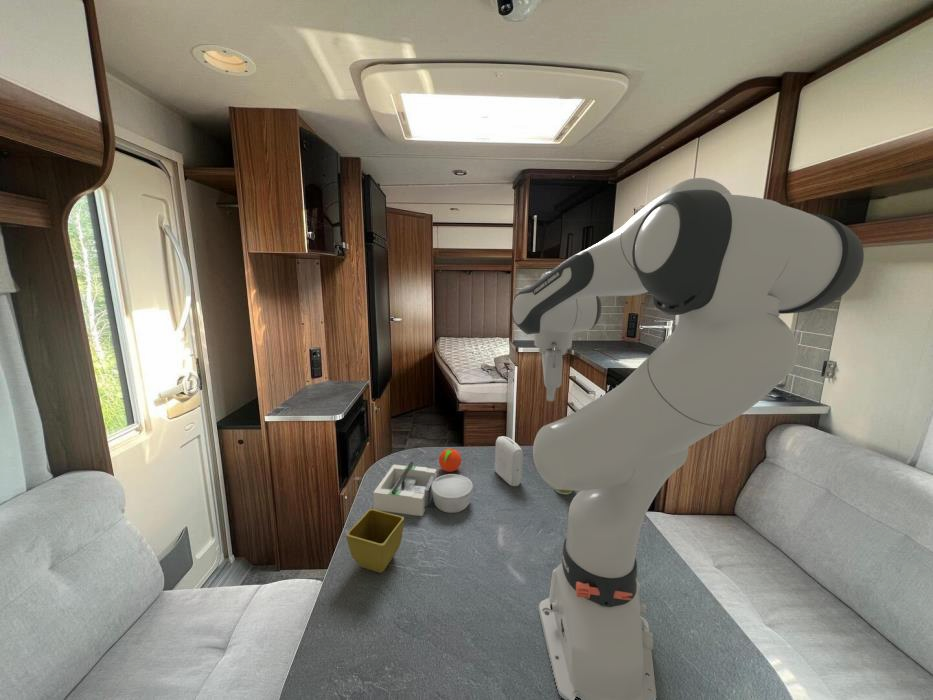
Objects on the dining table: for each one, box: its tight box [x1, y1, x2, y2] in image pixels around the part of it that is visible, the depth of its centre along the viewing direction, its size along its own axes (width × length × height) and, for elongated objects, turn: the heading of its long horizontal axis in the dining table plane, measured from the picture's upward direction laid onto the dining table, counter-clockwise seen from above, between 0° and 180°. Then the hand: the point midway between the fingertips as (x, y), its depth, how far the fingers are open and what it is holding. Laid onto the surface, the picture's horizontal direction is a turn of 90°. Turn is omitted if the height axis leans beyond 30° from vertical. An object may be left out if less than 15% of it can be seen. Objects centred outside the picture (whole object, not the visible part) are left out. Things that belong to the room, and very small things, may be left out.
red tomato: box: [438, 447, 462, 473], centre depth 112 cm, size 8×7×7 cm
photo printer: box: [494, 435, 524, 487], centre depth 108 cm, size 10×4×12 cm, turn 28°
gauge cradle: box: [372, 464, 438, 517], centre depth 99 cm, size 14×13×5 cm
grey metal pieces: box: [391, 461, 435, 508], centre depth 99 cm, size 15×10×6 cm
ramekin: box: [431, 473, 474, 514], centre depth 97 cm, size 11×11×5 cm
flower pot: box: [345, 508, 405, 574], centre depth 76 cm, size 9×9×9 cm
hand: (549, 393), depth 91 cm, fingers open, 8 cm apart
